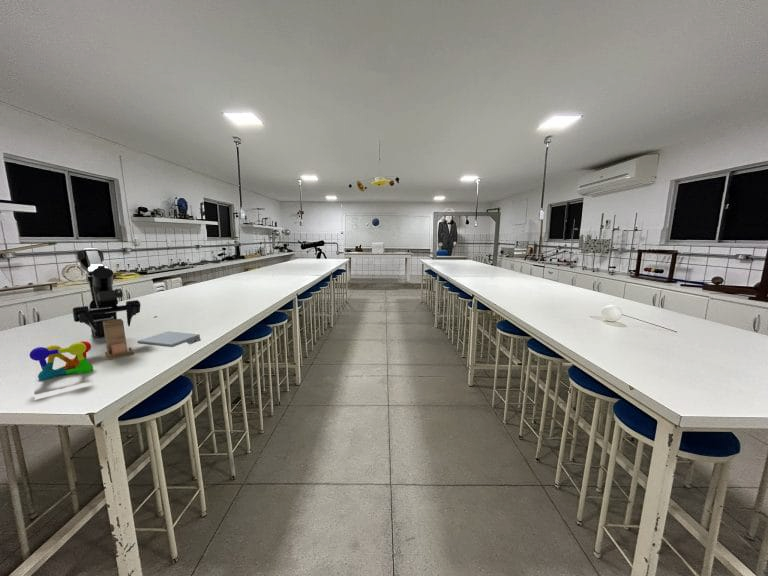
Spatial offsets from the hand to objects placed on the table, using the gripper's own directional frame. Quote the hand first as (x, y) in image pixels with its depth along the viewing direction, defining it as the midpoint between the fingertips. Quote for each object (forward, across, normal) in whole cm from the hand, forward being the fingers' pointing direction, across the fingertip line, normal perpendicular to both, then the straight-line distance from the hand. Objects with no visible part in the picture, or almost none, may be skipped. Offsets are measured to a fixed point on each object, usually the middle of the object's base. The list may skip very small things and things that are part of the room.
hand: (113, 328), depth 111 cm
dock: (+7, +17, +6) cm, 19 cm away
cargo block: (+11, 0, +1) cm, 11 cm away
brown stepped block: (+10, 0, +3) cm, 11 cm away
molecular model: (+17, -14, -4) cm, 22 cm away
